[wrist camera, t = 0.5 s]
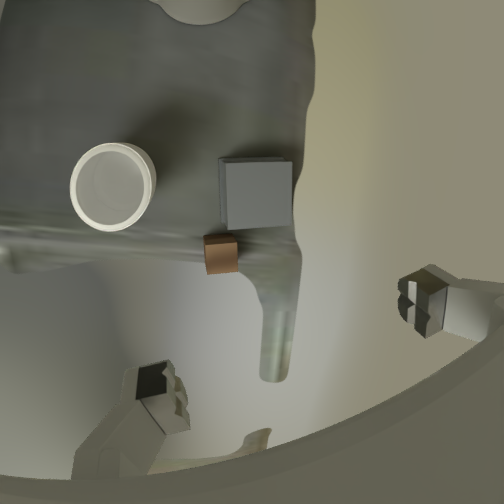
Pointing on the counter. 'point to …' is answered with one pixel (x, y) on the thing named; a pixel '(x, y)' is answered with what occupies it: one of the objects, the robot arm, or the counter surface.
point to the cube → (220, 253)
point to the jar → (112, 185)
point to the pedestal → (255, 192)
